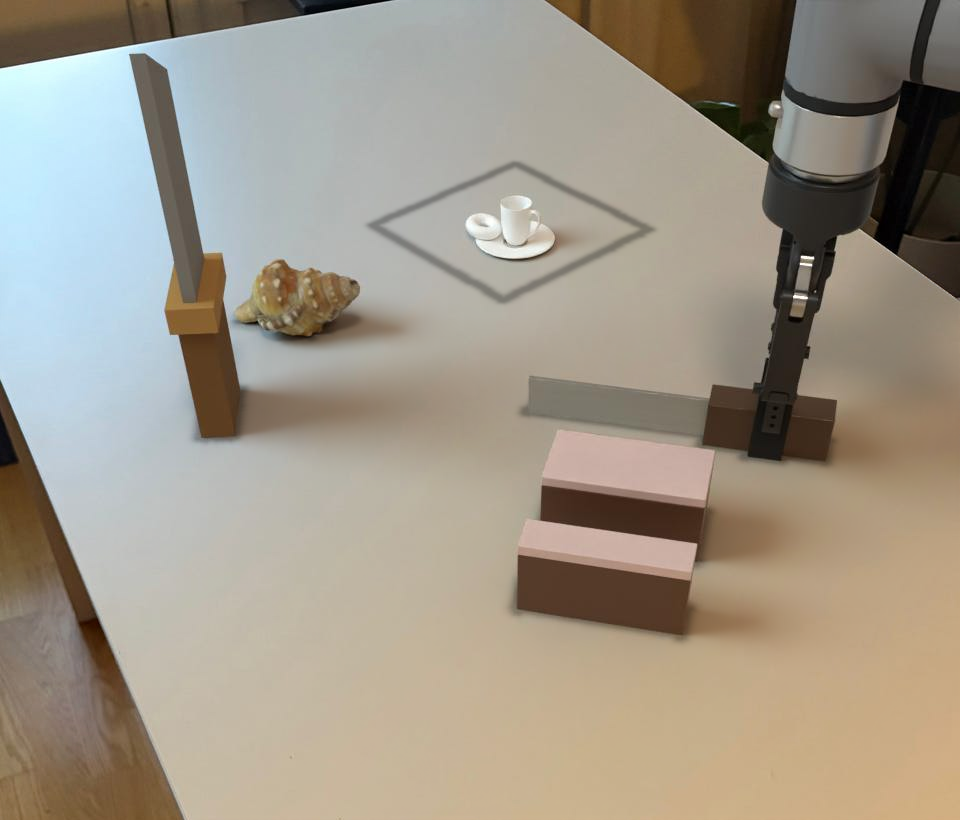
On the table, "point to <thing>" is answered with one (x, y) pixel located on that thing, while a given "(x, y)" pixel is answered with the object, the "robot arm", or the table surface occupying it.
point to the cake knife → (686, 413)
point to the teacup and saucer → (511, 230)
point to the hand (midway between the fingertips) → (766, 443)
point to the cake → (627, 486)
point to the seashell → (296, 299)
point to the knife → (189, 263)
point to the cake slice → (604, 576)
